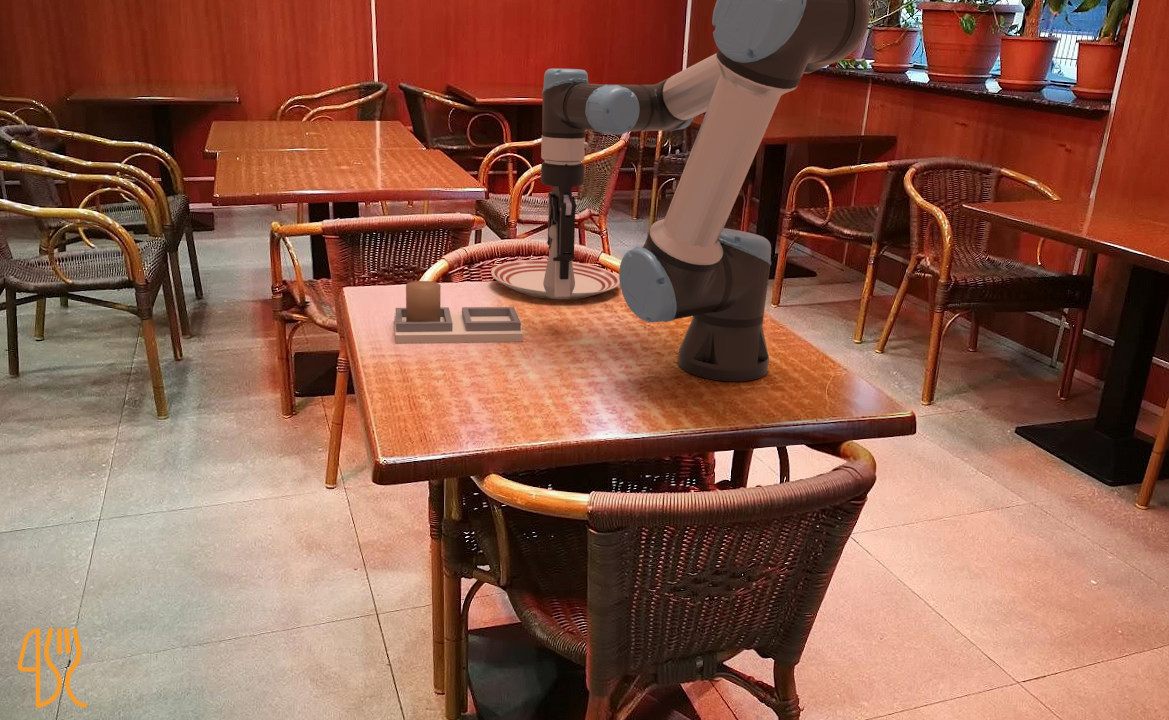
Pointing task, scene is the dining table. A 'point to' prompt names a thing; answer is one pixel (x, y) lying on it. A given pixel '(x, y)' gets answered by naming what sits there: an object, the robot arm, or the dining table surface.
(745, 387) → the dining table surface
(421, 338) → the board
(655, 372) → the dining table surface
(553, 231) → the salt shaker
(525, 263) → the dinner plate
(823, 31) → the robot arm
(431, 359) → the dining table surface
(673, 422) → the dining table surface
